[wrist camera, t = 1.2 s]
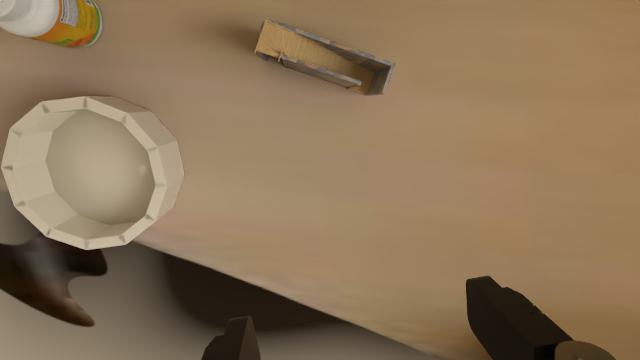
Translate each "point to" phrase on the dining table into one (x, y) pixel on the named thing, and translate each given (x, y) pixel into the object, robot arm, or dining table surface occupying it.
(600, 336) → the dining table surface
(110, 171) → the bowl
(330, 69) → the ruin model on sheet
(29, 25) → the supplement bottle
